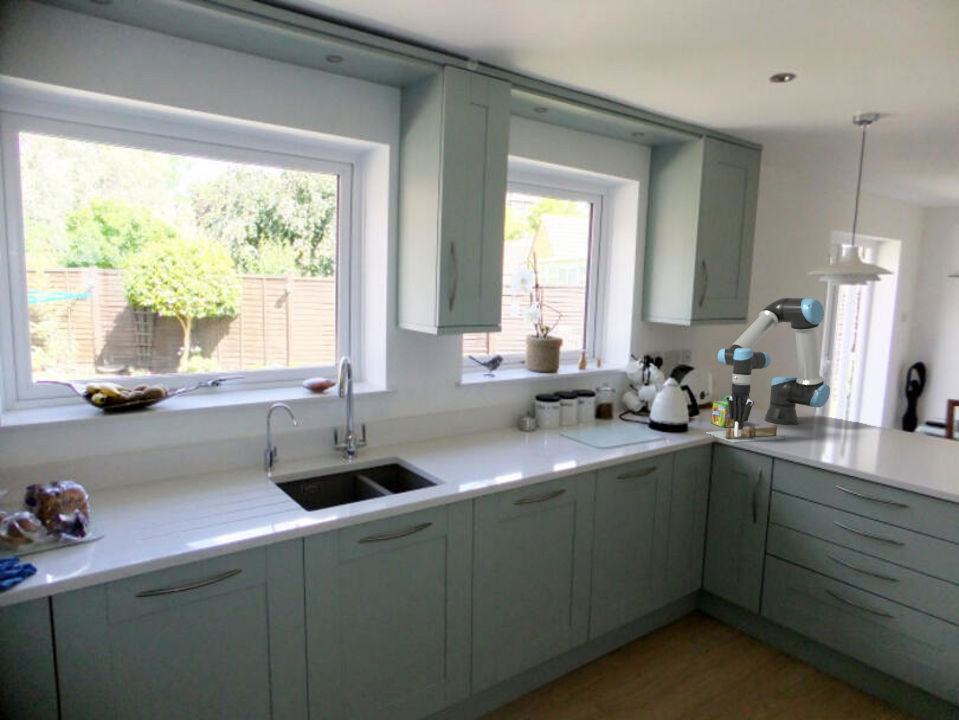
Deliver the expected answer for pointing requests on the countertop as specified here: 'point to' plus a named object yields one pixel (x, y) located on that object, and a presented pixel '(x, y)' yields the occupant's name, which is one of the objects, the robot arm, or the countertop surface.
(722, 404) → the chalk box
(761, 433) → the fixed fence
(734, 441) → the card
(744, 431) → the tan wooden bar
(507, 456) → the countertop surface
